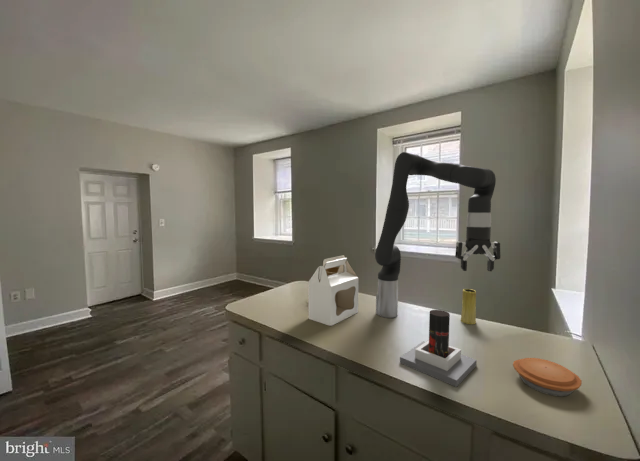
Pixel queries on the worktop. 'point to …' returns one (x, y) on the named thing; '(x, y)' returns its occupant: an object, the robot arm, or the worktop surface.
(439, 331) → the deodorant
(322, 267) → the gable box
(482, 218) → the robot arm
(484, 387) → the worktop surface
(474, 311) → the vase
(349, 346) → the worktop surface
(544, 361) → the pie
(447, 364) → the grey white socket base
